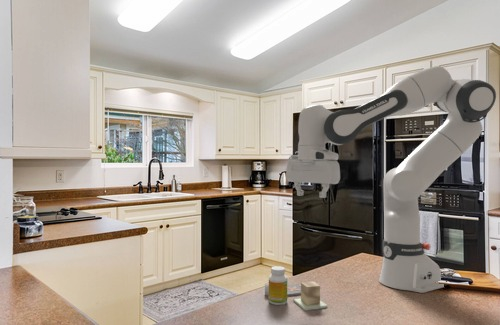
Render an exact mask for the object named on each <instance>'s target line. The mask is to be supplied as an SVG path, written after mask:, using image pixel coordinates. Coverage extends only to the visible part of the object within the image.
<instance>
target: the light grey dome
mask: <svg viewBox="0 0 500 325" xmlns="http://www.w3.org/2000/svg"><path fill="white" fill-rule="evenodd" d="M264 295H265V297H266V296H267V297H268V298H269V281H268V282H266V283H265V284H264Z"/></svg>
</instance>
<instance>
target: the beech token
mask: <svg viewBox="0 0 500 325" xmlns="http://www.w3.org/2000/svg"><path fill="white" fill-rule="evenodd" d="M300 286H301V295H300V298H301V300H302V301H303V302H304V303H305V304H306V305H314V304H320V300H321V285H319V283H317V282H315V281H304V282H303V281H302V282H300Z"/></svg>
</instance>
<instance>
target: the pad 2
mask: <svg viewBox="0 0 500 325" xmlns="http://www.w3.org/2000/svg"><path fill="white" fill-rule="evenodd" d="M293 302H294V303H295V304H296V305H297V306H299V307H300V308H301V309H302V310H303V311H311V310H319V309H326V308H327V309H328V304H326V303H325V302H324V301H322V300H321V299H320V304H314V305H306V304H305V303H304V302H303V301H302V300H301V297H299V298H293Z"/></svg>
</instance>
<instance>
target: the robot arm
mask: <svg viewBox="0 0 500 325" xmlns="http://www.w3.org/2000/svg"><path fill="white" fill-rule="evenodd" d="M496 98H497V93H496V90H495V87H493V86H492V85H491V84H490V83H488V82H487V81H485V80H480V79H469V78H467V79H466V78H462V79H453V78H452V76H451V74H450V72H449V71H448V70H447V69H446V68H444V67H443V66H440V65H438V66H431V67H428V68H425V69H422V70H419V71H416V72H415V73H414V72H413V74H410V75H408V76H407V77H405V78H402V79H400V80H399V81H397V82H396V83H394V84H393V85H391V86H390V87H389V88H387V89H386V91H385V92H384V93H382V95H380V96H379V97H377V98H375V99H372V100H370V101H368V102H366V103H364V104H361V105H359V106H358V107H356V108H352V109H340V110H336V111H331V110H329V109H328V108H326V107H325V106H323V105H321V104H313V105H308V106H307V107H304V108H302V110H300V113H299V116H298V128H297V130H298V131H297V132H298V139H299V141H298V144H297V154H292V155H290V156H289V158H287V165H286V171H285V179H286V181H287V182H291V183H292V182H293V184H294V187H295V189H296V195H297V196H300V197H302V196H304V192H305V190H303V189H302V187H301V186H302V183H308V184H321V187H322V190H321V191H318V192H319V193H318V194H319V195H318V197H319V198H322V199H325V198H327V192H328V191H329V189H330V185H337V184H339V183H340V180H341V170H340V169H341V168H340V163H339V162H338V160H339V159H340V158H339V154H338V153H337V152H334V151H331V150H328V149H327V148H326V144H327V143H328V144H332V145H335V146H342V145H345V144H349V143H350V142H353V140H354V139H355V138H357V136H358V135H359V133H361V131H362V130H364V129H365V128H367V127H368V126H370V125H372V124H374V123H377V122H380V121H381V120H383V119H385V118H388V117H391V116H407V115H409V114H412V113H415V112H417V111H419V110H421V109H423V108H425V107H427V106H430V105H431V104H434V105H435V107H437V109H438V110H440V111H442V112H445V113H447V117H446V119H445V120H444V122H443V123H442V124H441V125H440V126H438V128H436V129H435V130H434V131H433V132H432V133H431V134H430V135H428V137H427V138H426V139H424V140H423V141H422V142H421V143H420V144H419V145H418V146H416V148H414V150H413V151H412V152H411V153H410V154H409V155H408V156H407V157H406V158H405V159H404V160H403V161H402V162H401V163H400V164H399V165H398V166H397V167H394V168H392V169H390V170H388V171H387V172H386V174H385V176H384V177H383V187H382V188H383V212H384V213H383V214H384V218H383V219H384V225H383V227H384V230H383V231H384V232H383V233H384V234H383V235H384V236H383V237H384V239H383V240H382V253H383V259H382V266H381V271H380V276H379V278H378V281H379V283H380V284H381V285H384V286H386V287H390V288H392V289H397V290H401V291H411V292H416V293H420V294H421V293H422V294H423V293H427V292H431V291H435V290H438V289H443V288H445V287H444V284H439V283H435V282H438V281H440V280H441V278H442V274H441V267H440V266H439V265H438V263H436V262H435V261H434V260H432V259H431V258H430V257H429V256H428V255H427V254H425V250H426V251H430V249H431V245H430V244H429V243H426V242H423V243H421V217H420V216H421V215H420V209H419V197H421V195H422V194H423V193H424V192H425V191H426V190H427V189H428V188H429V187H430V186H431V185H432V184H433V183H434V182H435V181H436V179H437V178H439V176H440V175H441V174H442V173H443V172H444V171H445V170H446V169H447V168H449V167H450V166H451V165H452V164H453V163H454V162H455V161H456V160H458V159H459V158H460V157H461V156H462V155H463V154H464V153H466V152H467V151H468V149H469V148H471V147H472V146H473V145H474V144H475V142H476V140H478V139H479V137H480V136H481V135H482V132H483V124H482V122H481V121H482V120H484V119H486V117H487V116H488V113H489V112H490V111H491V110H492V108H493V106H494V105H495V103H496V101H497V100H496Z"/></svg>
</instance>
